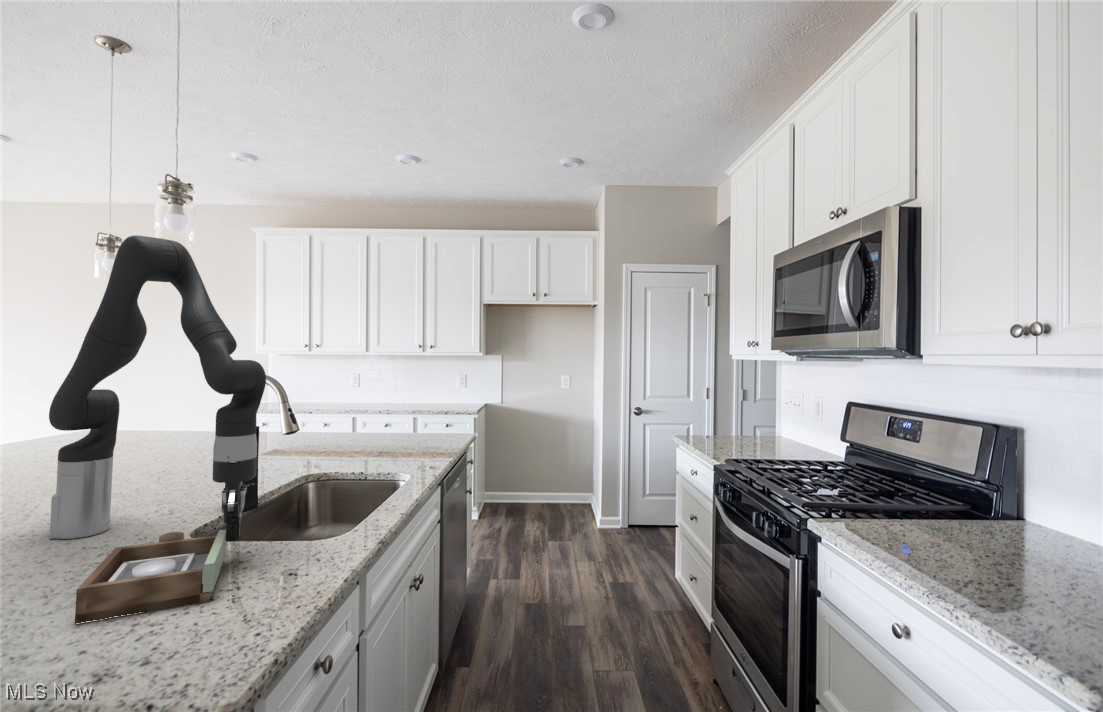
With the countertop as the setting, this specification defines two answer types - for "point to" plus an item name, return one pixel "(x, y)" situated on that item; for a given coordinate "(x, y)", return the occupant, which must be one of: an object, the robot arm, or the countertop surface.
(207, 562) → the tray
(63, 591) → the countertop surface
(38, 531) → the countertop surface
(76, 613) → the wooden drawer box
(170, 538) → the stand
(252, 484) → the portable radio
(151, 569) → the disc
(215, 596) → the countertop surface
